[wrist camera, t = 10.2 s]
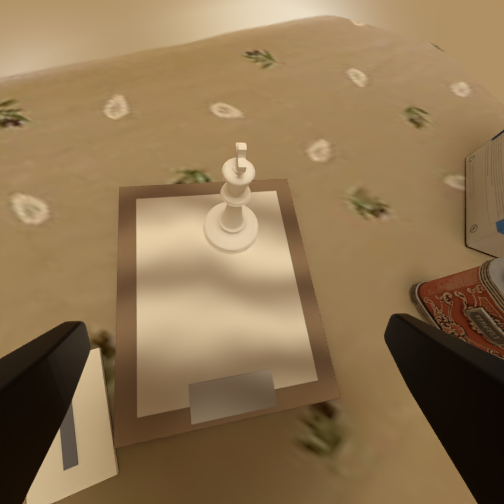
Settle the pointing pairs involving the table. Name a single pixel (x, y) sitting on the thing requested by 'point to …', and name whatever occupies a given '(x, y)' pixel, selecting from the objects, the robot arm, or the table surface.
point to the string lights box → (486, 198)
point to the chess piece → (233, 208)
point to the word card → (79, 441)
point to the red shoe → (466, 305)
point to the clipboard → (212, 315)
